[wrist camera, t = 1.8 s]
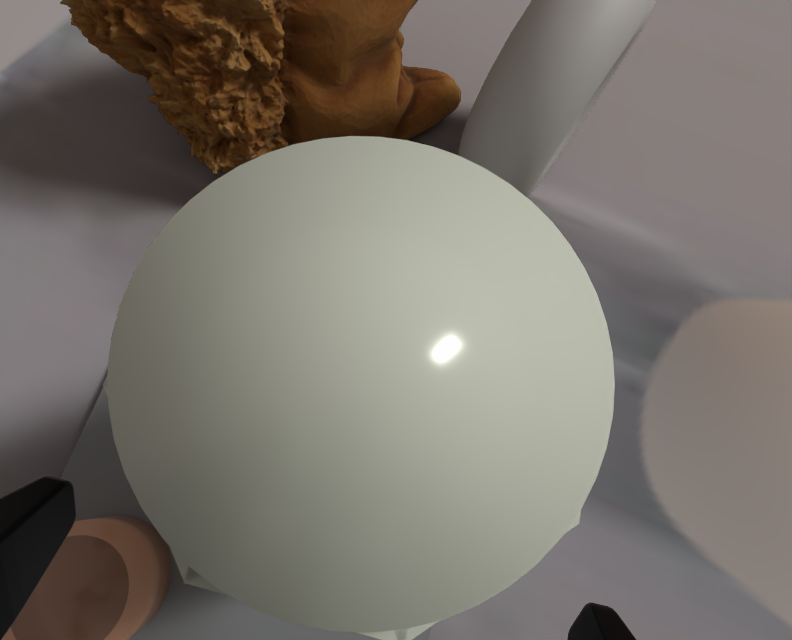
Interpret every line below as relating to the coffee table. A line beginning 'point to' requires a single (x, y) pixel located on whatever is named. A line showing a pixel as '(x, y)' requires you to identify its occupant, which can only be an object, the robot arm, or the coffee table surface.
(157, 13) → the stuffed squirrel
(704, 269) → the coffee table surface
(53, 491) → the robot arm
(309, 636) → the slate mat
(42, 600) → the pinch bowl
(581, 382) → the pale green faceted cylinder
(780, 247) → the coffee table surface
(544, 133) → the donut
